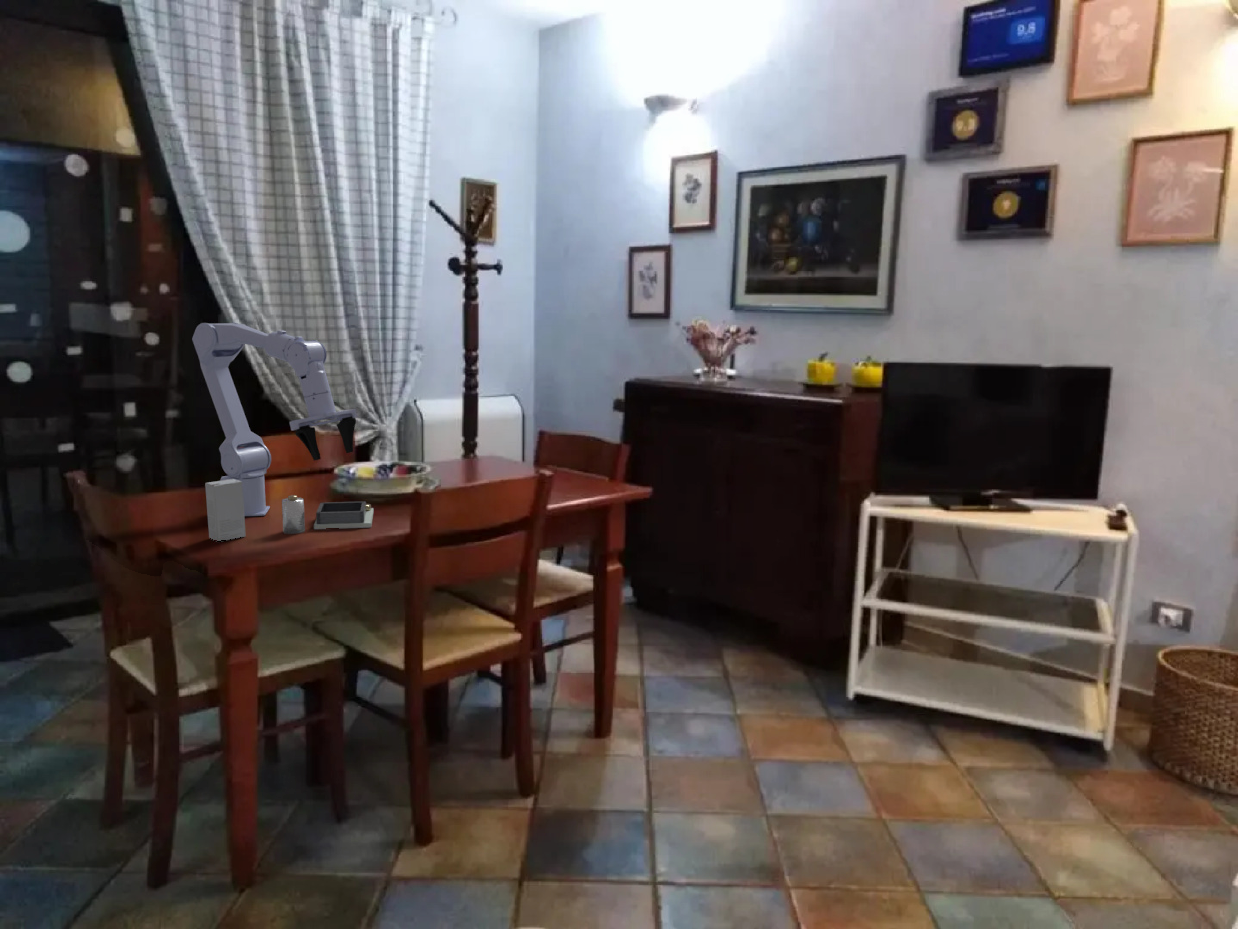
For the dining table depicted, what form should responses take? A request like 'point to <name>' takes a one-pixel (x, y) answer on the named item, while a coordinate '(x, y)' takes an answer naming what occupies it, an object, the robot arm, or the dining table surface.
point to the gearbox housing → (344, 515)
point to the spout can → (293, 515)
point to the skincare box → (225, 509)
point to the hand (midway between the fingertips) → (333, 456)
